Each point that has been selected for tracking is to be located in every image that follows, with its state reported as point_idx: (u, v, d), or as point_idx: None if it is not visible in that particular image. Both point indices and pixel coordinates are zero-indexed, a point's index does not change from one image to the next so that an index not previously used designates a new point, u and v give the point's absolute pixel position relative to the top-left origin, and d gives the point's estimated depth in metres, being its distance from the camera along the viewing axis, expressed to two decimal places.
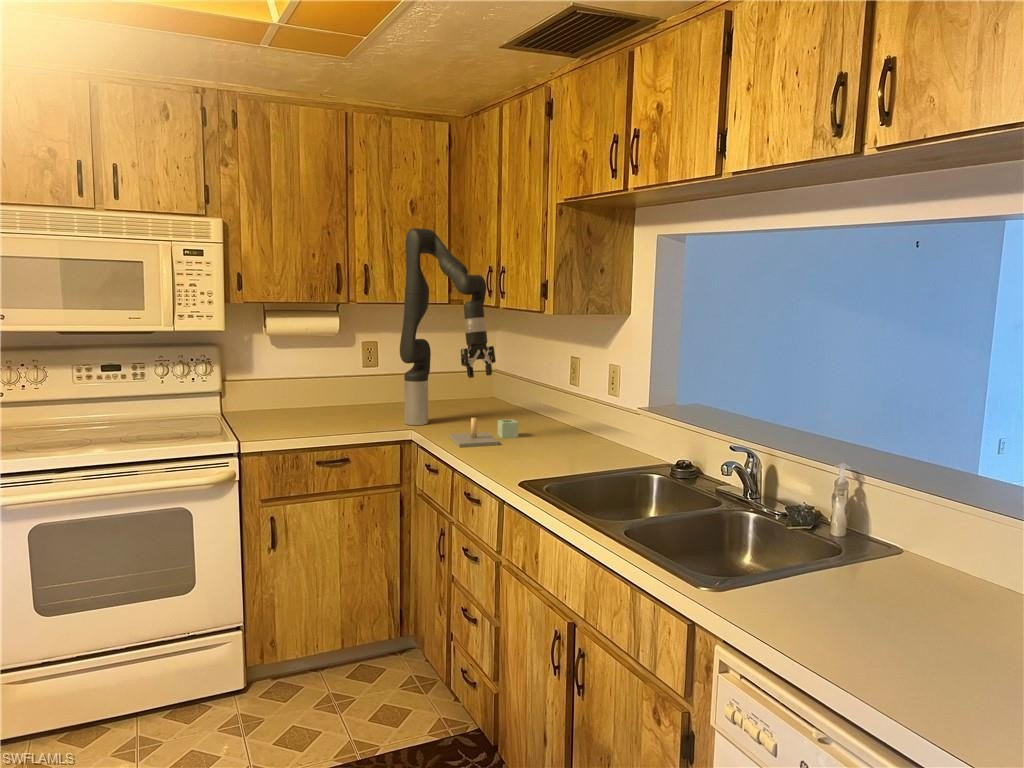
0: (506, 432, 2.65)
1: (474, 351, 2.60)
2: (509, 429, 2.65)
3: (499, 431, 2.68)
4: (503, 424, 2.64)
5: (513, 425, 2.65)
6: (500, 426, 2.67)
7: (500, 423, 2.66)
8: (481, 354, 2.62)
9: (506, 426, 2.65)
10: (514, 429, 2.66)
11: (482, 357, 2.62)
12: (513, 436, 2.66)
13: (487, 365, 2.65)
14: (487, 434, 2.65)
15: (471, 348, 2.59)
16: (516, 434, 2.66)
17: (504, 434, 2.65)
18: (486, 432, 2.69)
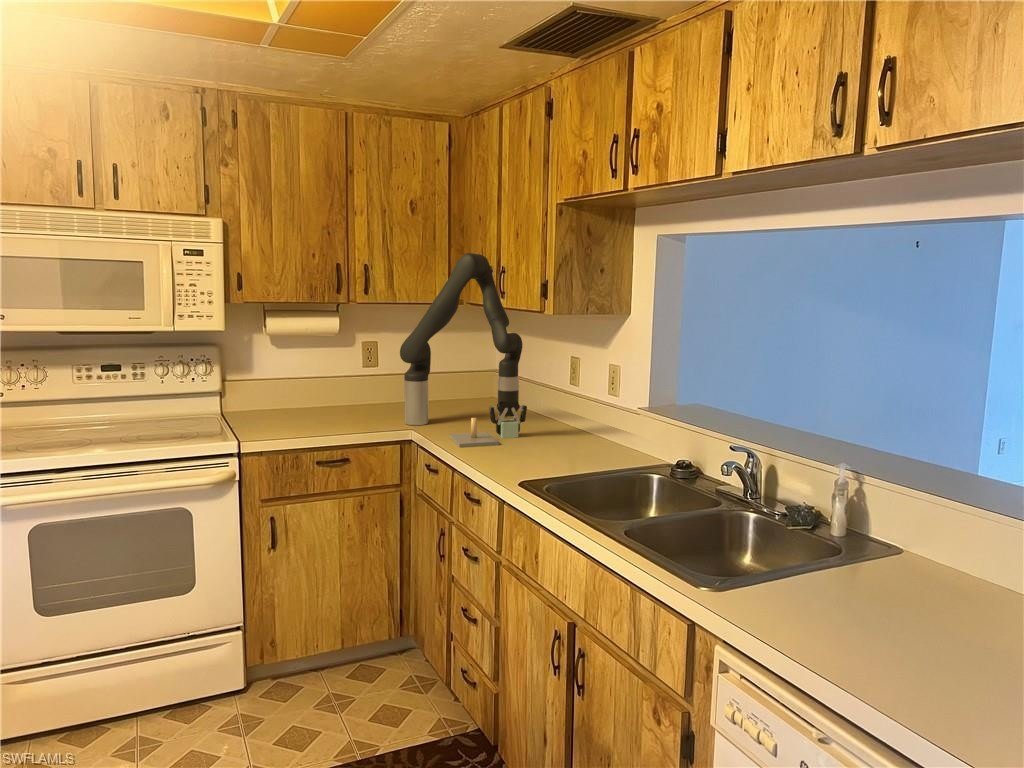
0: (506, 432, 2.65)
1: (502, 408, 2.65)
2: (509, 429, 2.65)
3: None
4: (503, 424, 2.64)
5: (513, 425, 2.65)
6: None
7: None
8: (510, 411, 2.66)
9: (506, 426, 2.65)
10: (514, 429, 2.66)
11: (511, 414, 2.67)
12: (513, 436, 2.66)
13: None
14: (487, 434, 2.65)
15: (499, 405, 2.65)
16: (516, 434, 2.66)
17: (504, 434, 2.65)
18: (486, 432, 2.69)
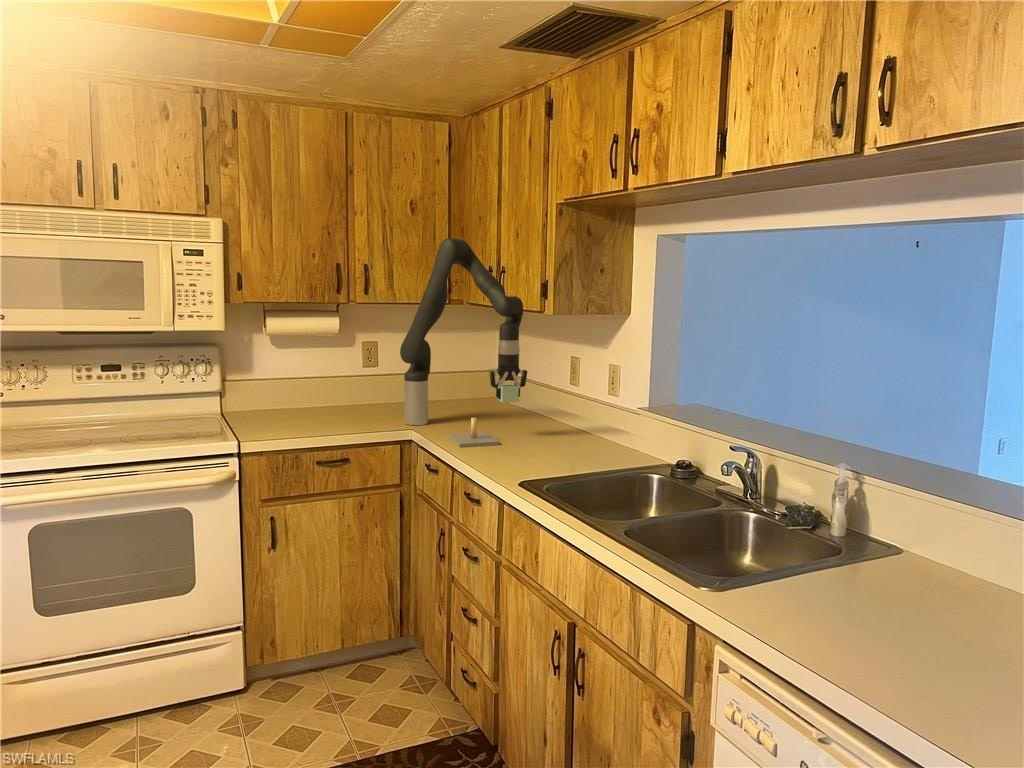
0: (506, 396, 2.63)
1: (502, 372, 2.63)
2: (509, 393, 2.63)
3: None
4: (503, 388, 2.62)
5: (513, 390, 2.64)
6: None
7: None
8: (510, 375, 2.64)
9: (506, 390, 2.63)
10: (514, 393, 2.64)
11: (511, 379, 2.65)
12: (513, 400, 2.64)
13: None
14: (487, 434, 2.65)
15: (499, 369, 2.63)
16: (516, 398, 2.64)
17: (504, 398, 2.63)
18: (486, 432, 2.69)
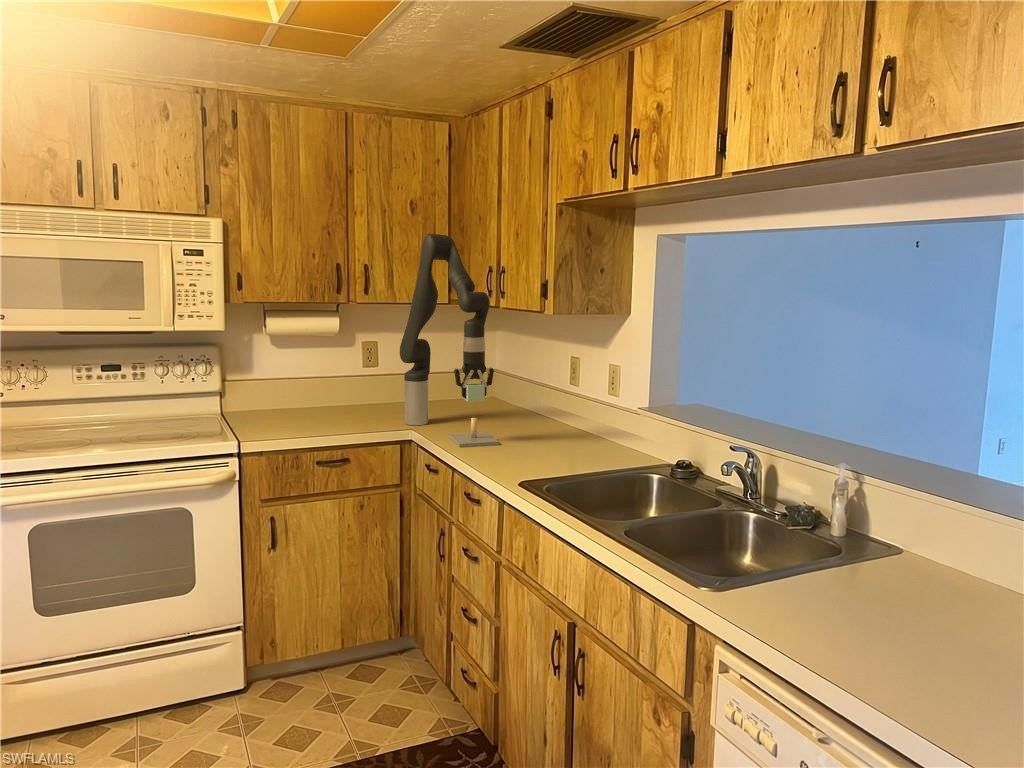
0: (472, 395, 2.54)
1: (467, 371, 2.54)
2: (475, 392, 2.54)
3: None
4: (469, 387, 2.53)
5: (479, 388, 2.54)
6: (466, 389, 2.56)
7: (466, 386, 2.56)
8: (476, 374, 2.55)
9: (472, 389, 2.54)
10: (480, 392, 2.55)
11: (477, 377, 2.56)
12: (479, 400, 2.55)
13: None
14: (487, 434, 2.65)
15: (464, 367, 2.54)
16: (482, 397, 2.55)
17: (469, 397, 2.54)
18: (486, 432, 2.69)
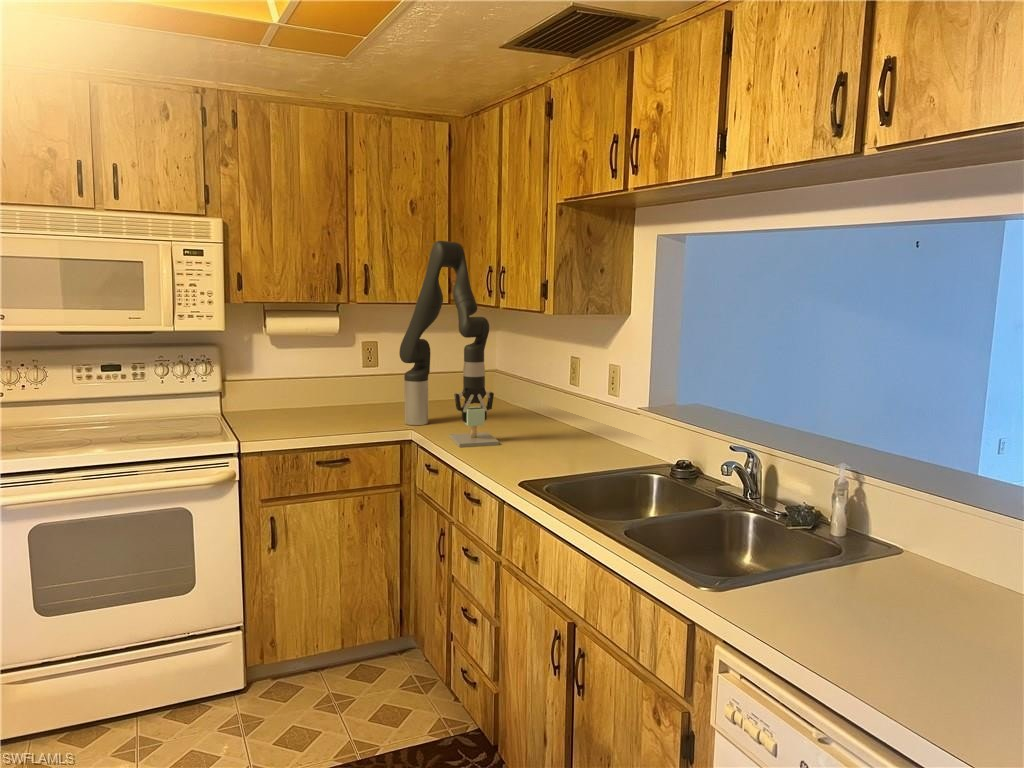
0: (472, 419, 2.55)
1: (467, 395, 2.56)
2: (475, 416, 2.55)
3: None
4: (469, 411, 2.55)
5: (479, 413, 2.56)
6: None
7: (466, 410, 2.57)
8: (476, 398, 2.57)
9: (472, 413, 2.55)
10: (480, 416, 2.56)
11: (477, 401, 2.57)
12: (479, 424, 2.56)
13: None
14: (487, 434, 2.65)
15: (464, 392, 2.55)
16: (482, 422, 2.57)
17: (469, 422, 2.55)
18: (486, 432, 2.69)
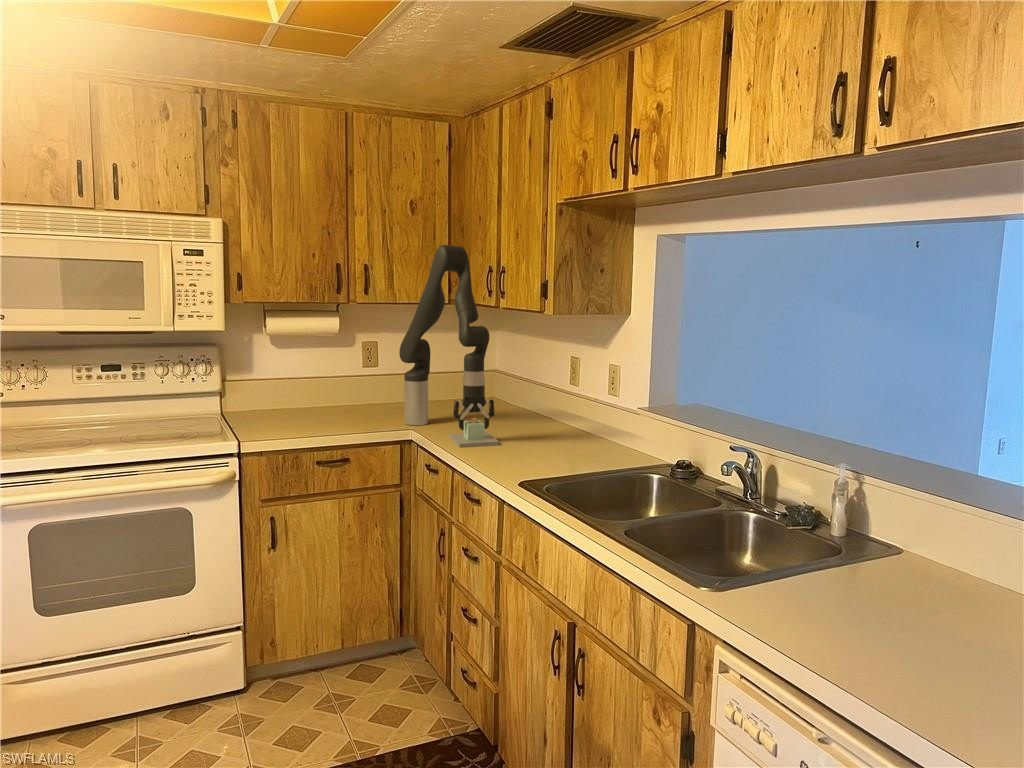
0: (472, 434, 2.56)
1: (467, 404, 2.56)
2: (475, 431, 2.56)
3: (465, 433, 2.59)
4: (469, 425, 2.55)
5: (479, 427, 2.56)
6: (466, 427, 2.58)
7: (466, 424, 2.58)
8: (476, 407, 2.57)
9: (472, 427, 2.56)
10: (480, 431, 2.57)
11: (477, 410, 2.57)
12: (479, 438, 2.57)
13: (484, 418, 2.60)
14: (487, 434, 2.65)
15: (464, 401, 2.56)
16: (482, 436, 2.57)
17: (469, 436, 2.56)
18: (486, 432, 2.69)
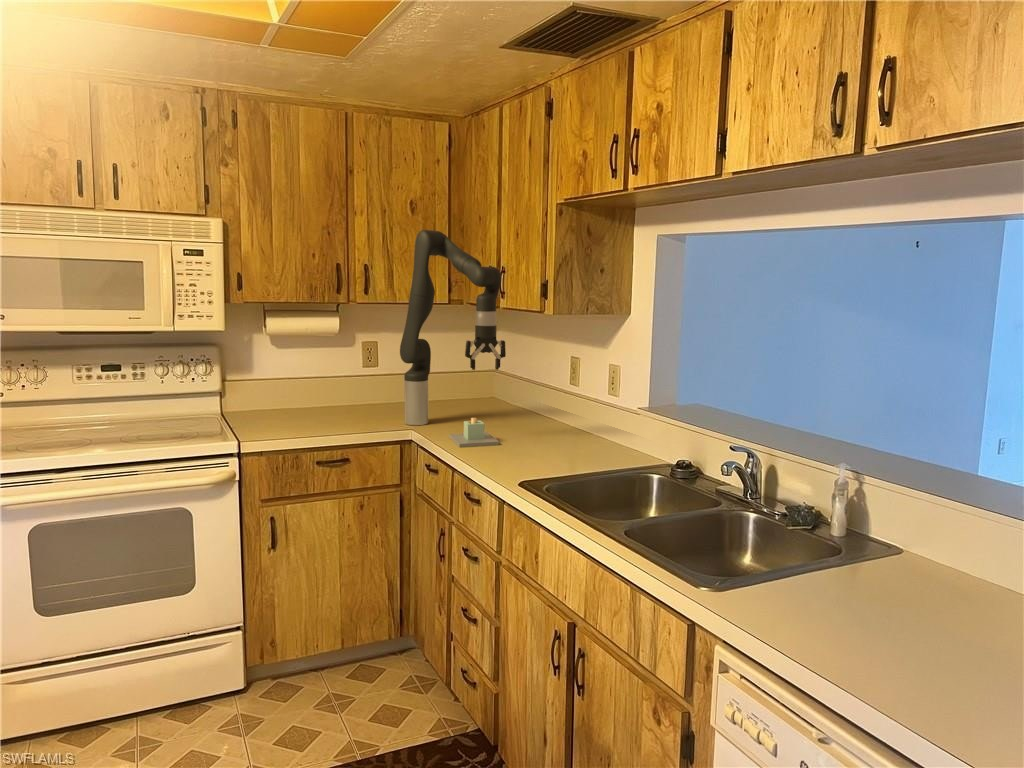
0: (472, 434, 2.56)
1: (479, 344, 2.59)
2: (475, 431, 2.56)
3: (465, 433, 2.59)
4: (469, 425, 2.55)
5: (479, 427, 2.56)
6: (466, 427, 2.58)
7: (466, 424, 2.58)
8: (488, 348, 2.60)
9: (472, 427, 2.56)
10: (480, 431, 2.57)
11: (489, 351, 2.61)
12: (479, 438, 2.57)
13: (496, 359, 2.63)
14: (487, 434, 2.65)
15: (476, 341, 2.59)
16: (482, 436, 2.57)
17: (469, 436, 2.56)
18: (486, 432, 2.69)
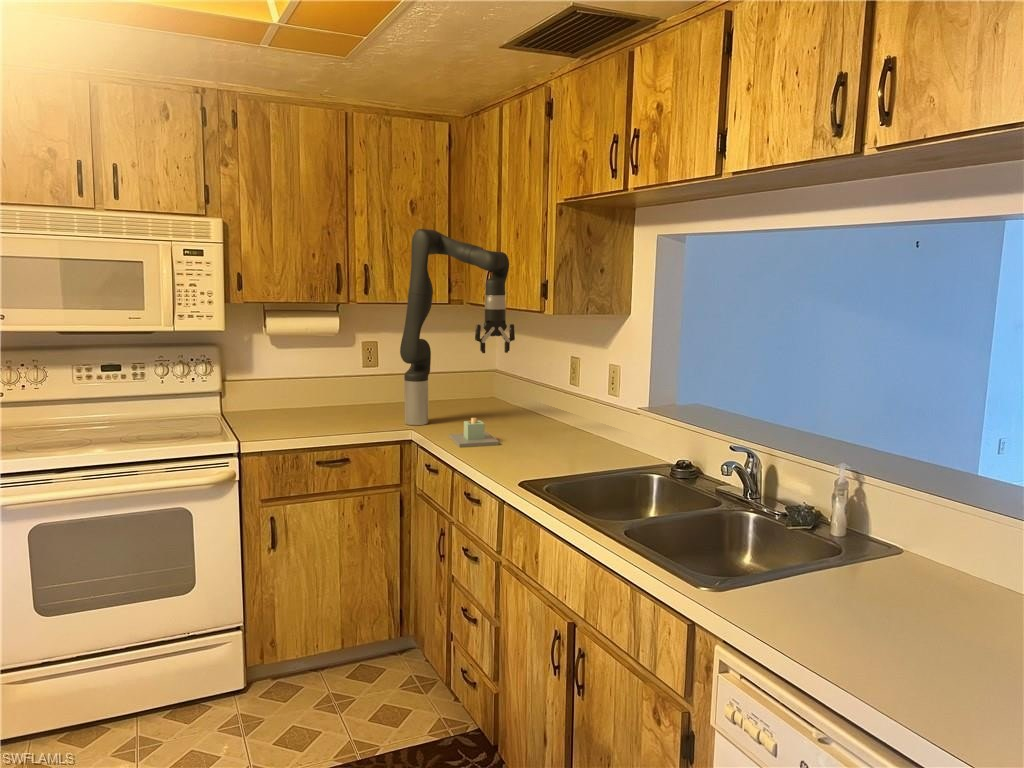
0: (472, 434, 2.56)
1: (489, 328, 2.64)
2: (475, 431, 2.56)
3: (465, 433, 2.59)
4: (469, 425, 2.55)
5: (479, 427, 2.56)
6: (466, 427, 2.58)
7: (466, 424, 2.58)
8: (497, 331, 2.65)
9: (472, 427, 2.56)
10: (480, 431, 2.57)
11: (498, 334, 2.65)
12: (479, 438, 2.57)
13: (505, 342, 2.67)
14: (487, 434, 2.65)
15: (485, 325, 2.63)
16: (482, 436, 2.57)
17: (469, 436, 2.56)
18: (486, 432, 2.69)
